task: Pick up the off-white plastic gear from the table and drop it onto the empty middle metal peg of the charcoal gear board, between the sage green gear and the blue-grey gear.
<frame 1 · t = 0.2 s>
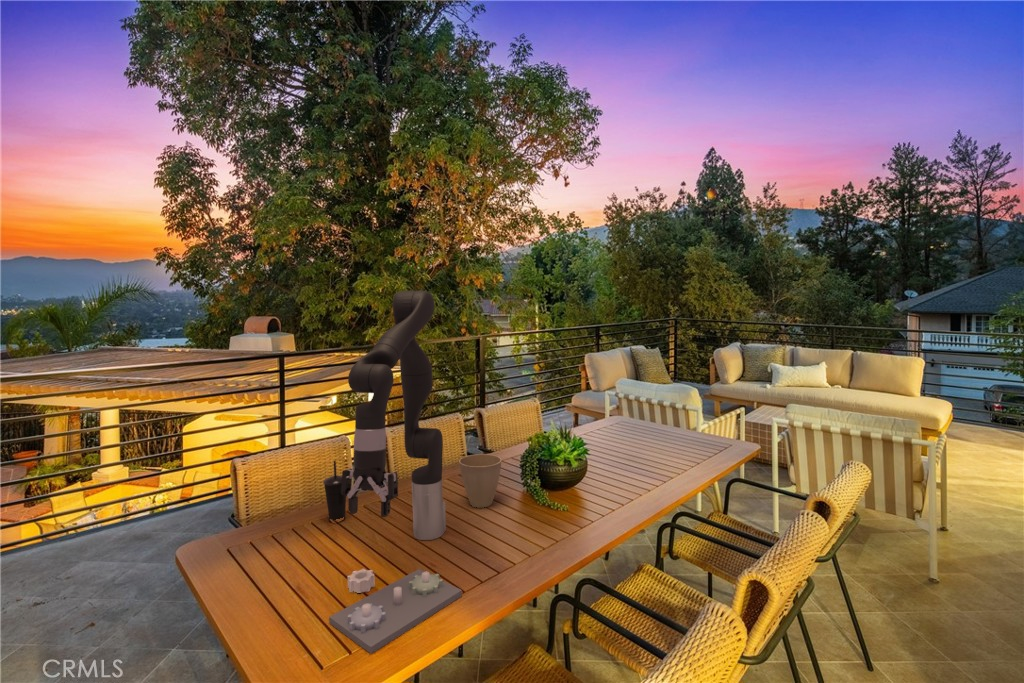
hand: (368, 514, 121), 21 cm above the table, tool pointing down, fingers open, 8 cm apart
drinking cup: (337, 520, 169), on the table
plant pot: (481, 504, 180), on the table
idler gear: (361, 586, 129), on the table
gear board: (398, 609, 119), on the table
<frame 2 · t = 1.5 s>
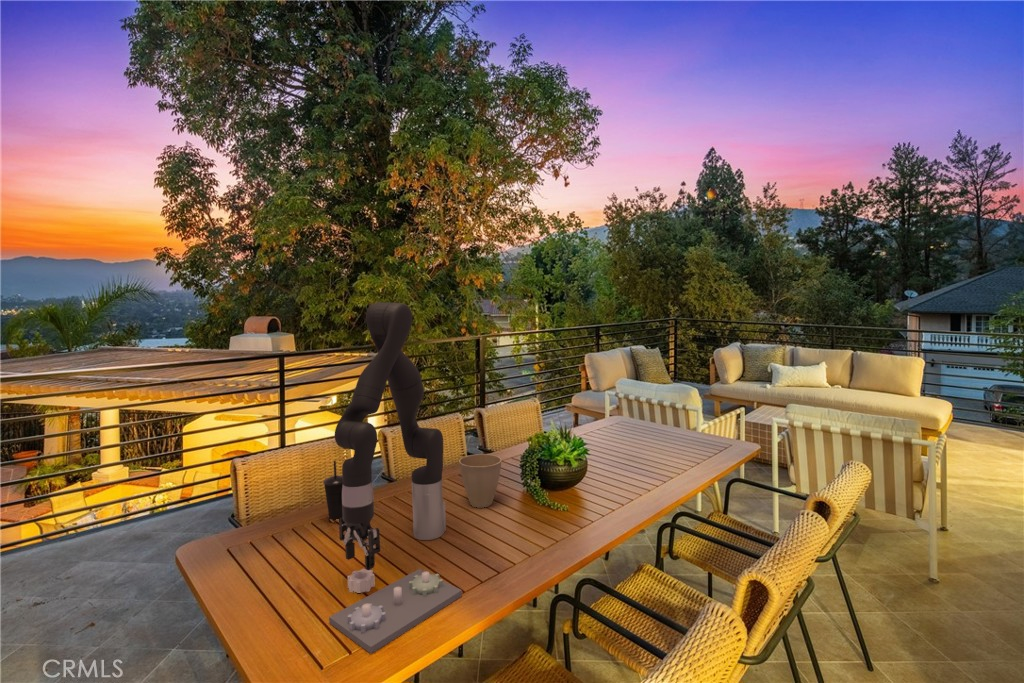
hand: (359, 563, 128), 6 cm above the table, tool pointing down, fingers open, 8 cm apart
nothing on the table moved.
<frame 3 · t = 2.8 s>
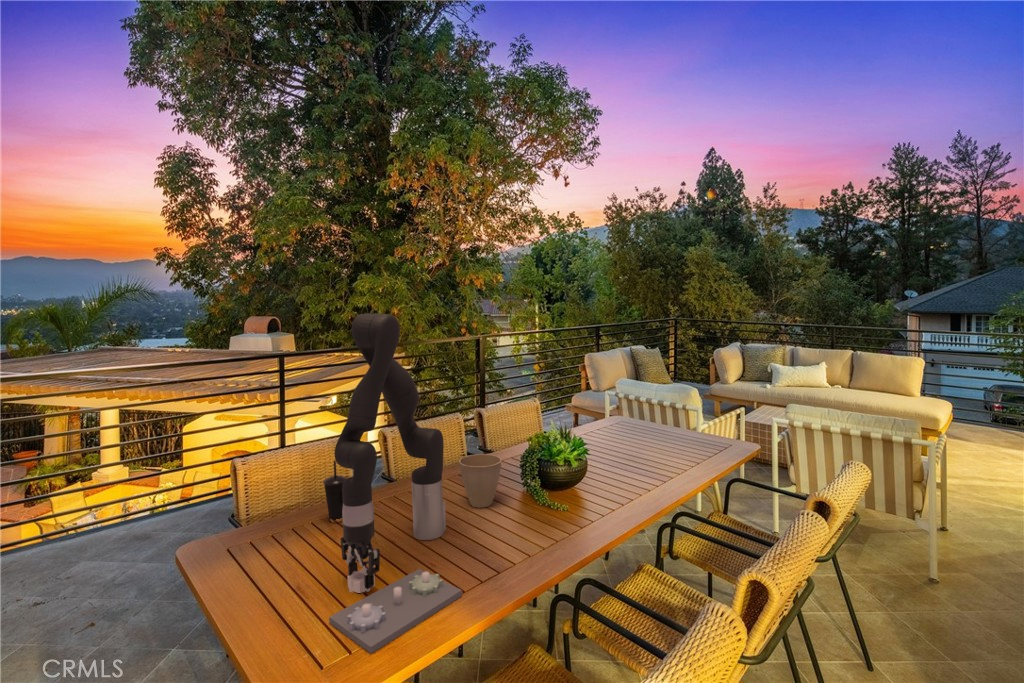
hand: (361, 582, 128), 1 cm above the table, tool pointing down, fingers closed on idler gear, 6 cm apart
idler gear: (361, 586, 129), on the table, touching gripper
everything else where it was.
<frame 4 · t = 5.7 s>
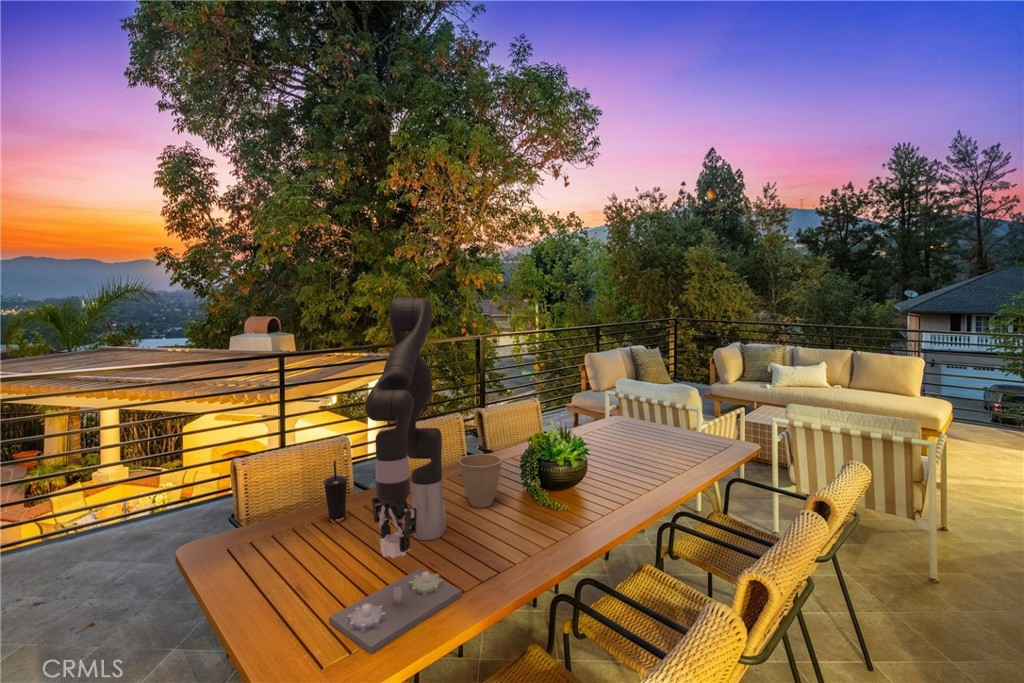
hand: (395, 545, 118), 15 cm above the table, tool pointing down, fingers closed on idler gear, 6 cm apart
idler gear: (395, 551, 118), point 14 cm above the table, touching gripper
everything else where it was.
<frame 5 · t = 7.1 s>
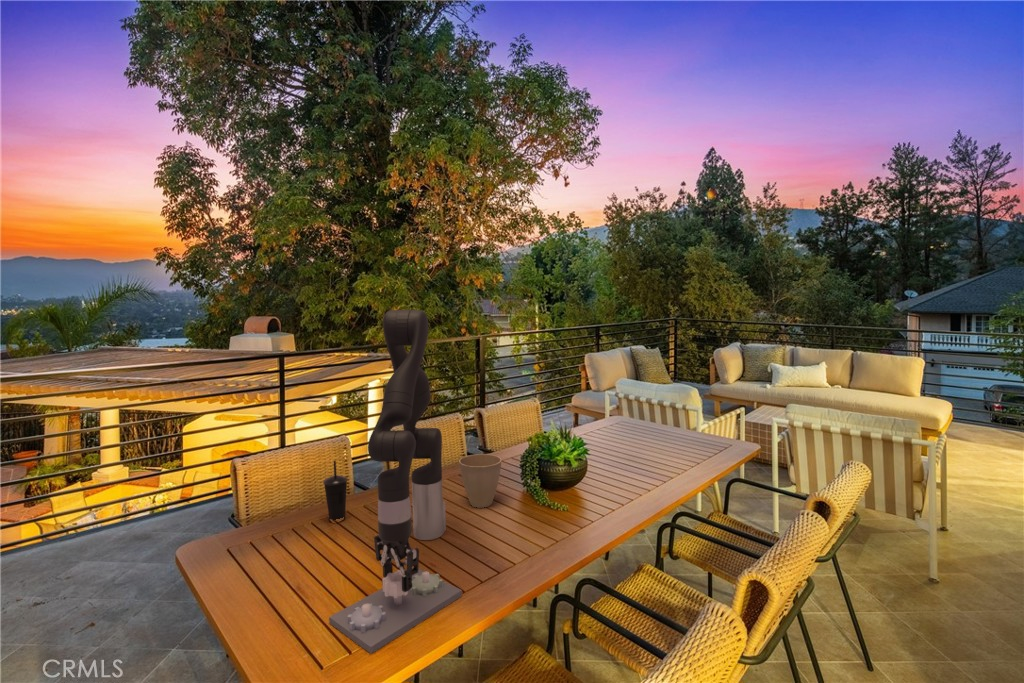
hand: (397, 584, 118), 6 cm above the table, tool pointing down, fingers closed on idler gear, 6 cm apart
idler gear: (397, 589, 118), point 5 cm above the table, touching gripper
everything else where it was.
when the fingers open (4 cm above the table, at t = 8.5 s): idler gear drops 1 cm, resting on gear board.
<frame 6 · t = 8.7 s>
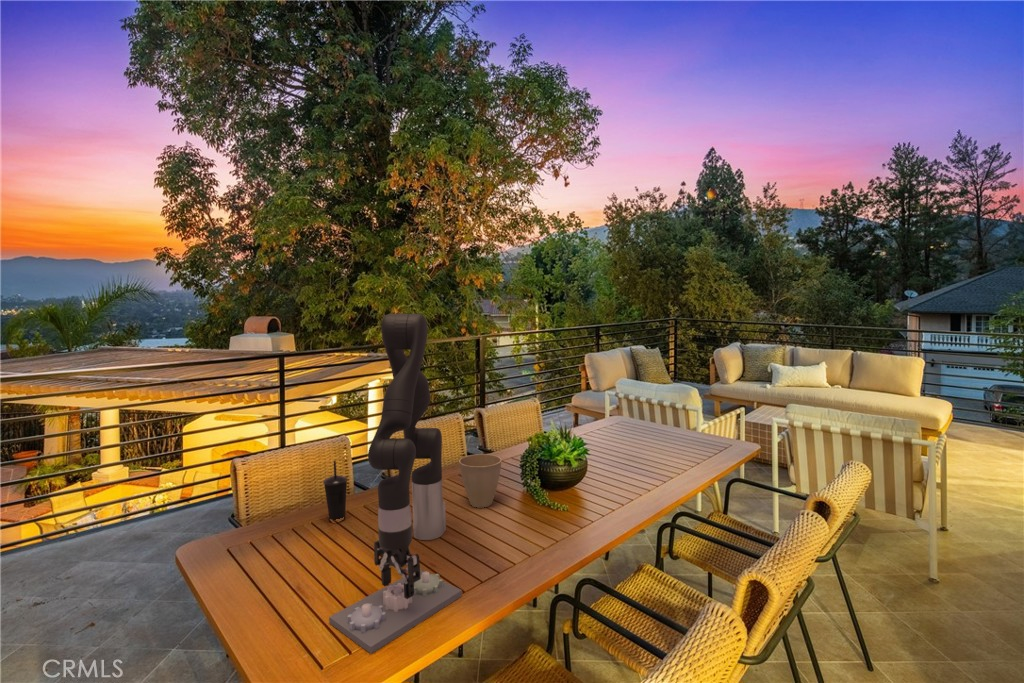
hand: (397, 590, 119), 5 cm above the table, tool pointing down, fingers open, 8 cm apart
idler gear: (397, 603, 119), point 1 cm above the table, touching gear board
everything else where it was.
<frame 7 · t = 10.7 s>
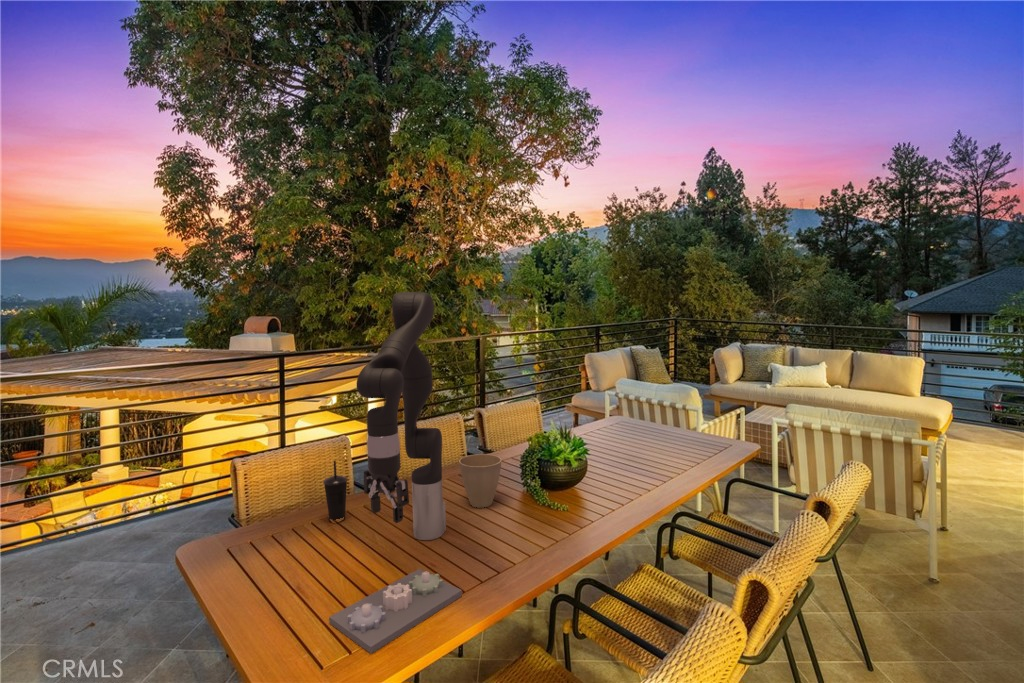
hand: (386, 516, 122), 20 cm above the table, tool pointing down, fingers open, 8 cm apart
nothing on the table moved.
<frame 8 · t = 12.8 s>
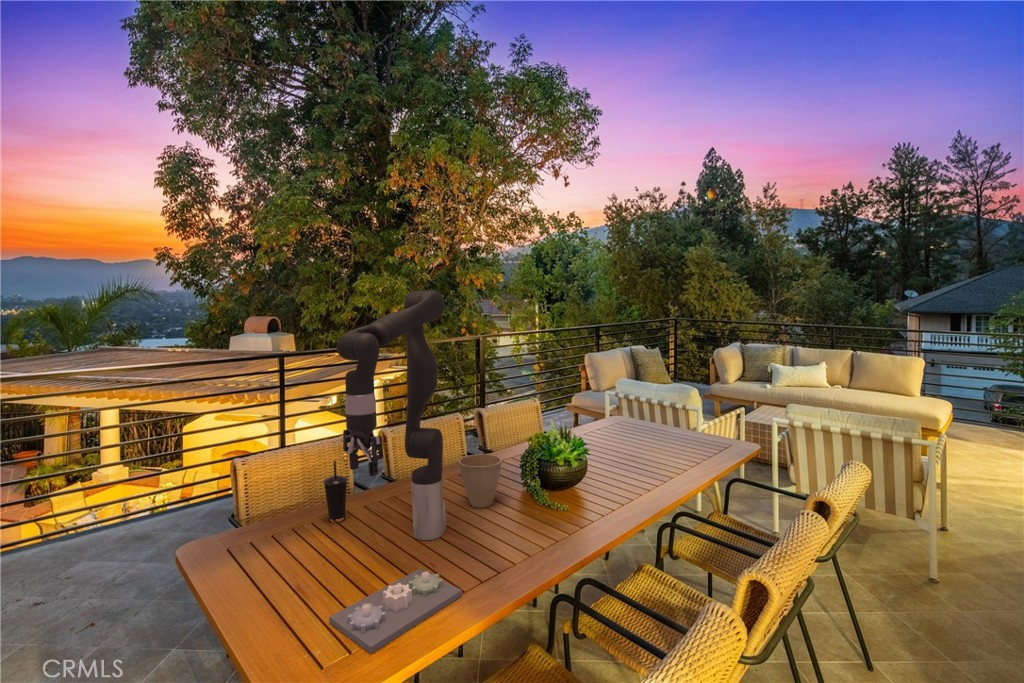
hand: (363, 472, 131), 28 cm above the table, tool pointing down, fingers open, 8 cm apart
nothing on the table moved.
at the end: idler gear 0.0 cm off-centre on the gear board, point 1.5 cm above the gear board's base; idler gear tilted 0°; the gripper is holding nothing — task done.
